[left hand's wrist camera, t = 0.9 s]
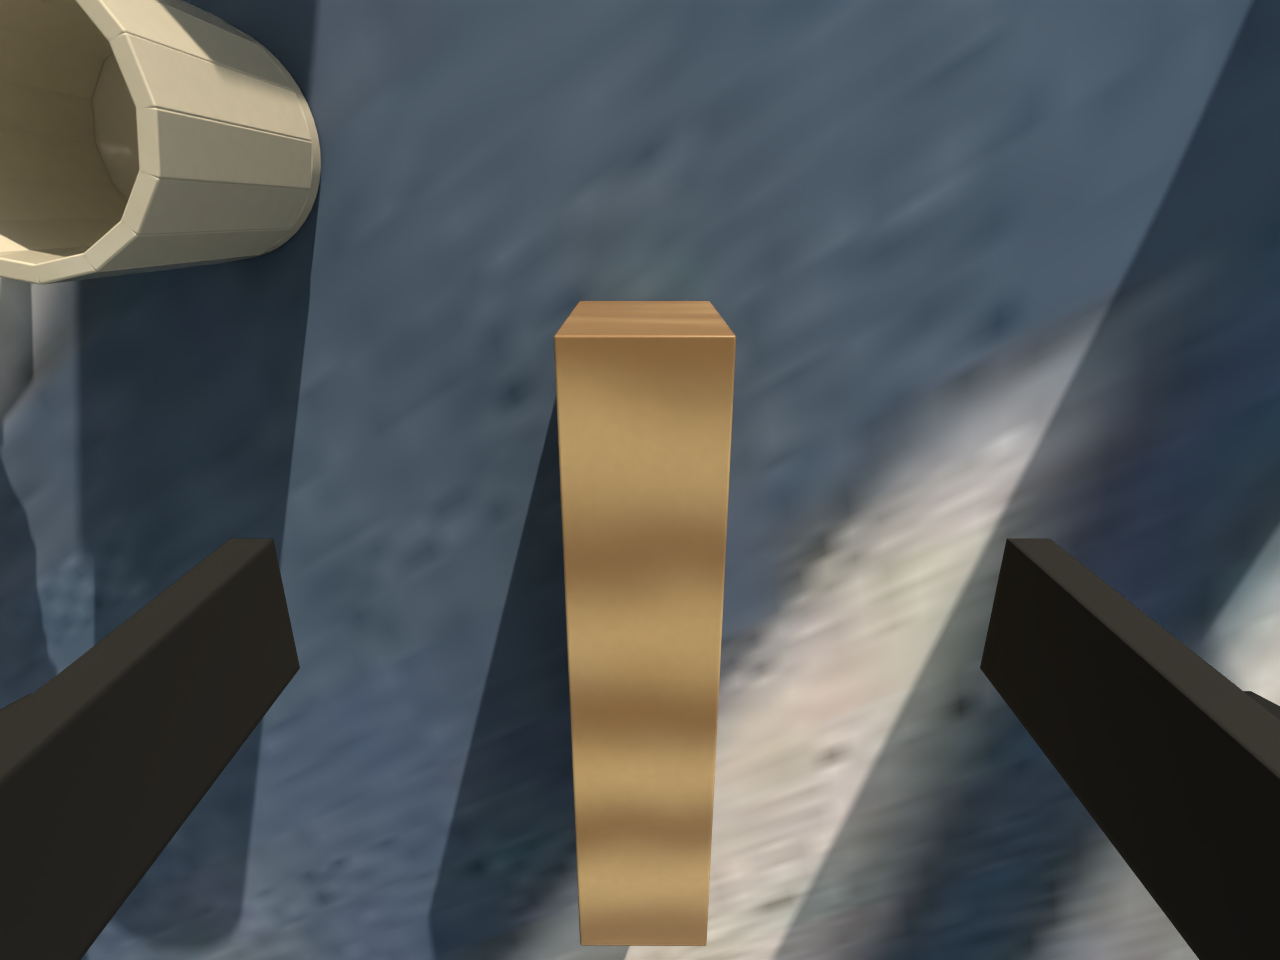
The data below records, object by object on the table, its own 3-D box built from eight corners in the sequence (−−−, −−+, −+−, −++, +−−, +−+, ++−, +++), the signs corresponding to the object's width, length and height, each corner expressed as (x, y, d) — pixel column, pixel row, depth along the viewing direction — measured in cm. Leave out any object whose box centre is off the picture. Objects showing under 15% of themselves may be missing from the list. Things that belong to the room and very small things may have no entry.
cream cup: (206, -40, 23) (-52, -189, 14) (367, 176, 25) (227, 157, 17) (48, 110, 24) (-267, 56, 16) (213, 301, 27) (15, 342, 18)
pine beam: (578, 300, 27) (553, 335, 19) (710, 300, 26) (736, 335, 19) (593, 790, 35) (580, 946, 28) (693, 790, 35) (706, 946, 28)
